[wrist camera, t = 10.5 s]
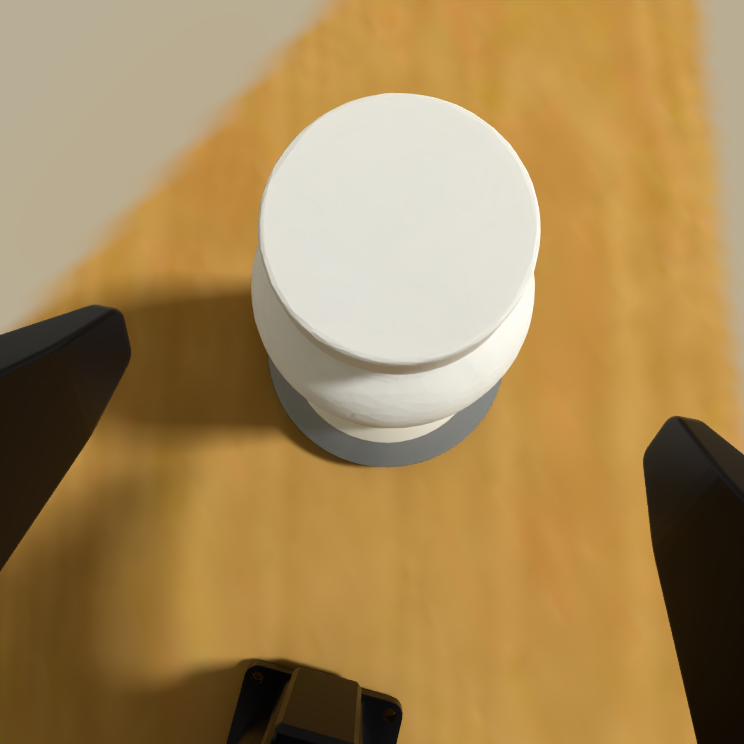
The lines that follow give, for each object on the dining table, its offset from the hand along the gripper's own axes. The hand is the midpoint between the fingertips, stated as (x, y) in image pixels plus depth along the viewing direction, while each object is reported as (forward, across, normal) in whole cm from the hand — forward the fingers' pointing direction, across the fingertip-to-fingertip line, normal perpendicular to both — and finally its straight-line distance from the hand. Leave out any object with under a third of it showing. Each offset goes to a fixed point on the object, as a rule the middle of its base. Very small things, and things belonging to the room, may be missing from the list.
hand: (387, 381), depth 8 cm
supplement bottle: (+11, 0, +7) cm, 13 cm away
